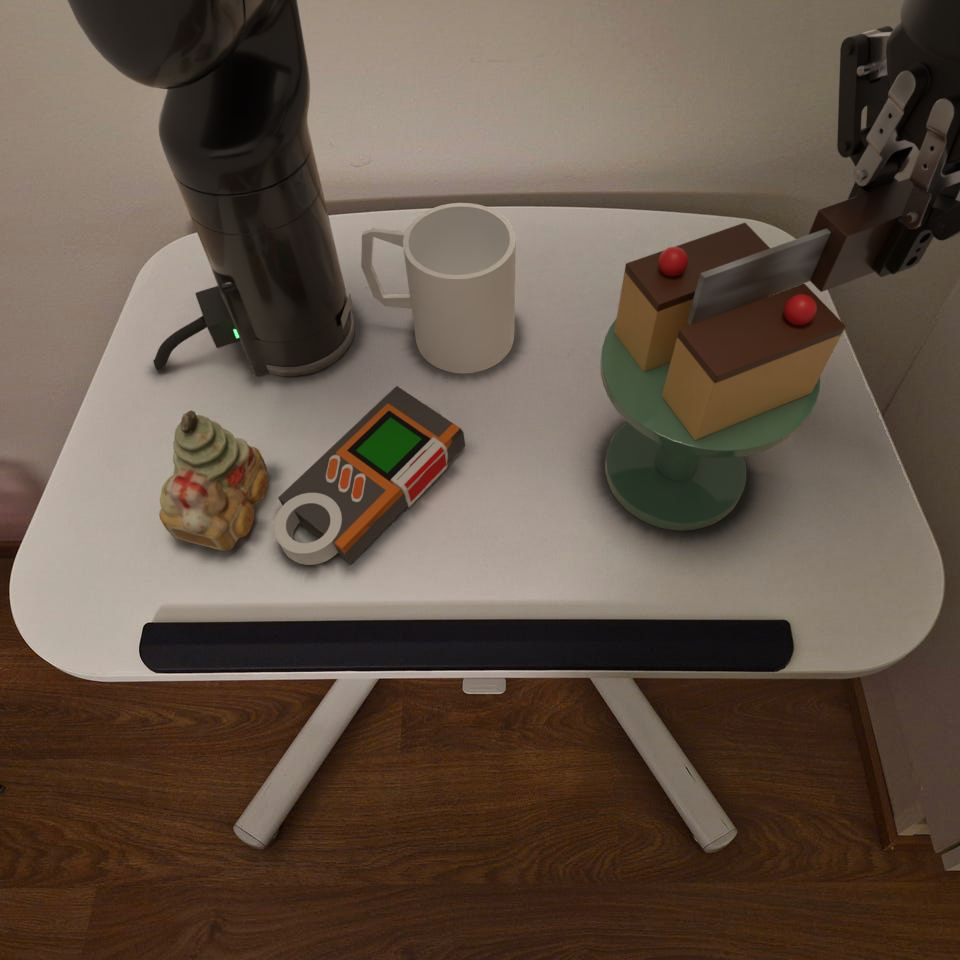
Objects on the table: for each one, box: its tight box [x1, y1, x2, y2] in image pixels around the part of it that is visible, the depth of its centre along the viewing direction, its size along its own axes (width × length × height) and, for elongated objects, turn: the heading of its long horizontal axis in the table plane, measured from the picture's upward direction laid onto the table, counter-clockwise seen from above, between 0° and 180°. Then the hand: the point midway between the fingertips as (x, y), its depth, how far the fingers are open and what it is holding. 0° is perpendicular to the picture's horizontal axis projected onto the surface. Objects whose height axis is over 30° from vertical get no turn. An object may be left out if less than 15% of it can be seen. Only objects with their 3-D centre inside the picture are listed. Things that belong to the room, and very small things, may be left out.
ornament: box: [158, 410, 270, 552], centre depth 52 cm, size 8×6×10 cm
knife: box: [687, 177, 914, 325], centre depth 43 cm, size 15×2×4 cm, turn 114°
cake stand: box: [599, 317, 822, 531], centre depth 52 cm, size 13×13×12 cm
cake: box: [614, 222, 846, 440], centre depth 44 cm, size 8×9×7 cm
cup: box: [360, 202, 517, 374], centre depth 61 cm, size 8×12×10 cm
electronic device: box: [273, 385, 466, 566], centre depth 56 cm, size 7×3×15 cm
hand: (871, 252), depth 46 cm, fingers closed on knife, 2 cm apart
